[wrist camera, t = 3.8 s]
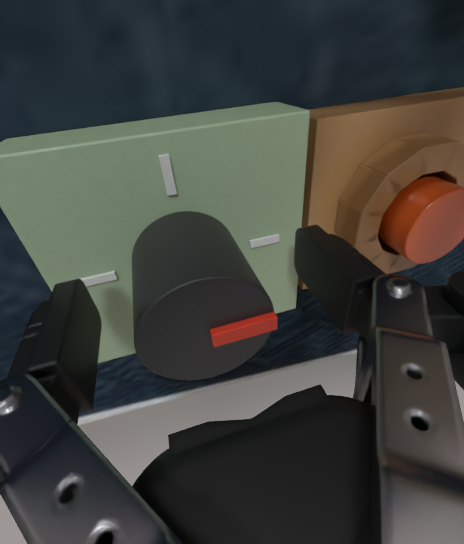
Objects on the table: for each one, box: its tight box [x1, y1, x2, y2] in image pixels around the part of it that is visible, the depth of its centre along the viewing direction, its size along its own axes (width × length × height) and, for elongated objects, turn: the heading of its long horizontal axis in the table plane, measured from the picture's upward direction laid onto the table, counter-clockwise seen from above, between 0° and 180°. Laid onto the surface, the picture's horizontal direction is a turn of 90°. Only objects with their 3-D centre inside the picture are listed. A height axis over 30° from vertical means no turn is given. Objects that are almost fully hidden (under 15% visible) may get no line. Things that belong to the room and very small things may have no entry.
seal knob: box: [132, 211, 277, 380], centre depth 11 cm, size 4×4×5 cm
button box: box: [298, 87, 464, 290], centre depth 15 cm, size 10×9×4 cm
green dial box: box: [0, 102, 310, 363], centre depth 14 cm, size 11×10×3 cm
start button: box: [379, 176, 464, 264], centre depth 13 cm, size 4×4×2 cm
